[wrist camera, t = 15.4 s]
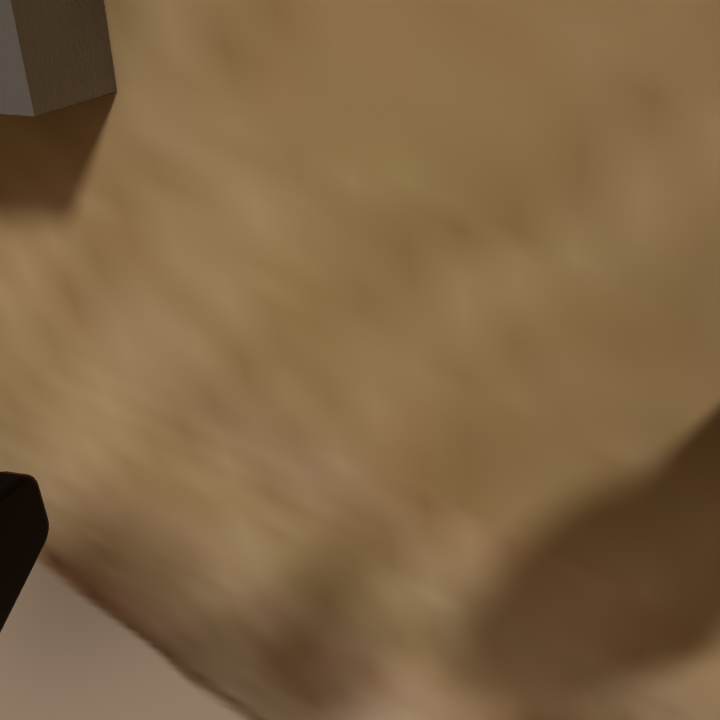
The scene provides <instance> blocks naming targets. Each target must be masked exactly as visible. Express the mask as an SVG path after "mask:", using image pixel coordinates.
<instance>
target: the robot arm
mask: <svg viewBox="0 0 720 720" xmlns="http://www.w3.org/2000/svg"><path fill="white" fill-rule="evenodd" d="M48 530H49V522H48V517H47V514H46V510H45V507H44V503H43V499H42V496H41V492H40V489H39V485H38V483H37V481H36V480H35V478H34V477H33V476H31V475H28V474H21V473H14V472H7V471H5V472H0V632H1V630H2V628H3V626H4V624H5V622H6V620H7V618H8V616H9V614H10V612H11V610H12V608H13V606H14V604H15V602H16V599H17V598H18V596H19V594H20V592H21V590H22V588H23V586H24V584H25V582H26V580H27V578H28V576H29V574H30V572H31V570H32V568H33V566H34V564H35V562H36V560H37V558H38V556H39V554H40V552H41V550H42V548H43V546H44V544H45V541H46V539H47V535H48Z"/></svg>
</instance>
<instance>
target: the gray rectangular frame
mask: <svg viewBox="0 0 720 720" xmlns="http://www.w3.org/2000/svg"><path fill="white" fill-rule="evenodd" d="M116 91H117V89H116V82H115V75H114V69H113V62H112V55H111V48H110V41H109V34H108V27H107V20H106V13H105V6H104V0H0V114H8V115H22V116H37V115H41V114H44V113H47V112H50V111H54V110H57V109H60V108H64V107H67V106H70V105H74V104H77V103H80V102H83V101H87V100H90V99H93V98H97V97H100V96H103V95H106V94H110V93H113V92H116Z"/></svg>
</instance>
